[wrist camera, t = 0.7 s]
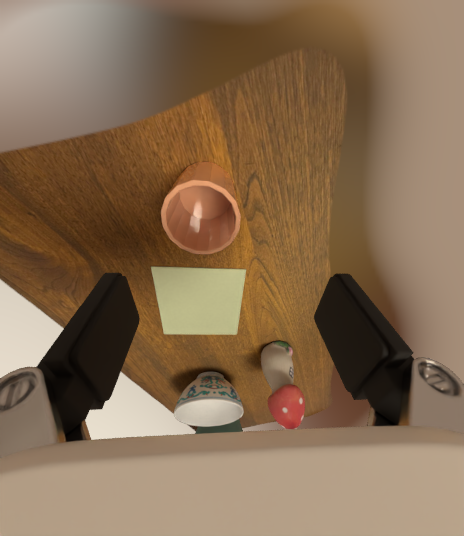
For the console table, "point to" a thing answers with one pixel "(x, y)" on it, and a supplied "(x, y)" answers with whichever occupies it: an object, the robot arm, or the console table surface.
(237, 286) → the mat
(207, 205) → the cup
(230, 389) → the chinaware
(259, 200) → the console table surface
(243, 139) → the console table surface
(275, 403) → the decorative ornament
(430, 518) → the robot arm
